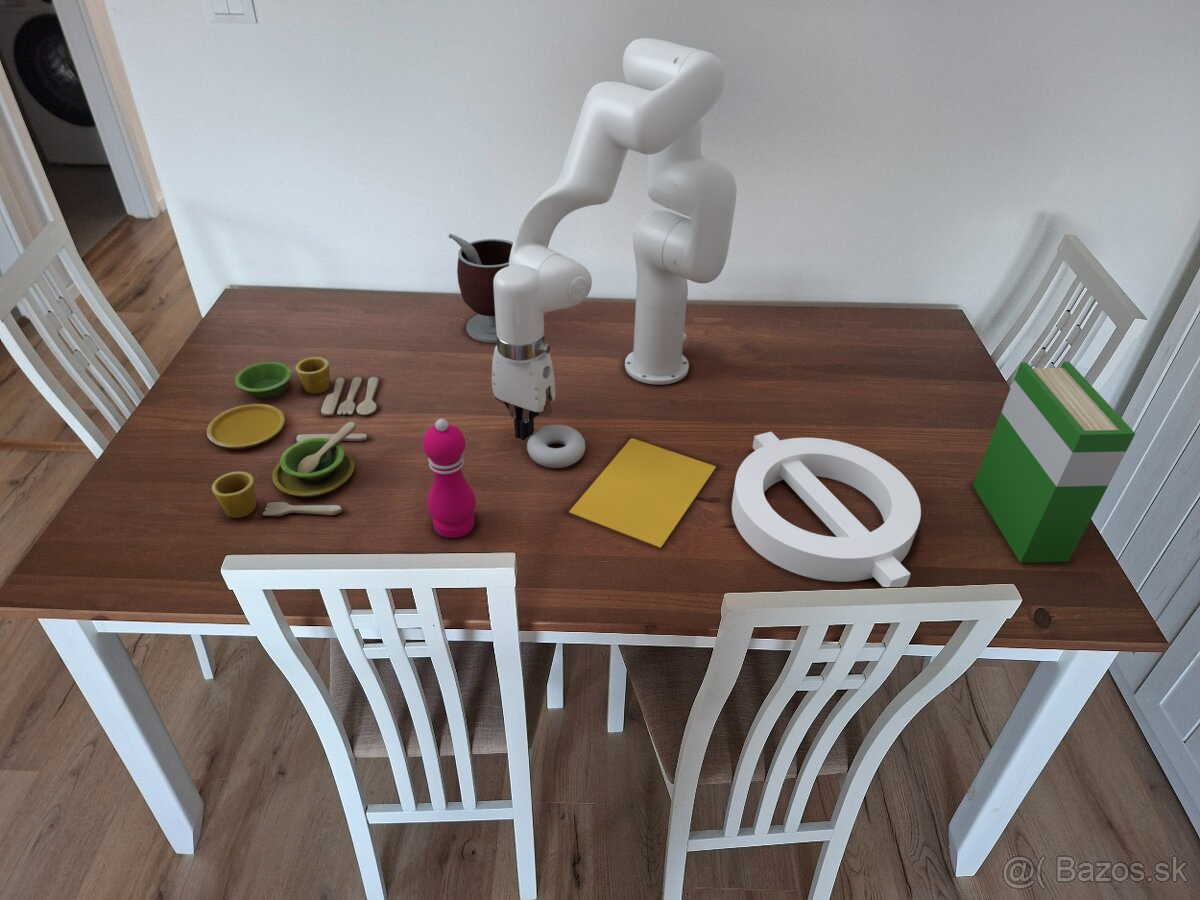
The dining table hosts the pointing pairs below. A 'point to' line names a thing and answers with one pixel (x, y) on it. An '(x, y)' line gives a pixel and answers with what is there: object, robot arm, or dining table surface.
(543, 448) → the donut
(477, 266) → the mate gourd
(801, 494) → the ring with crossbar
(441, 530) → the pepper mill
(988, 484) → the hardback book
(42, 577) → the dining table surface
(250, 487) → the tableware set
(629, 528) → the cloth
